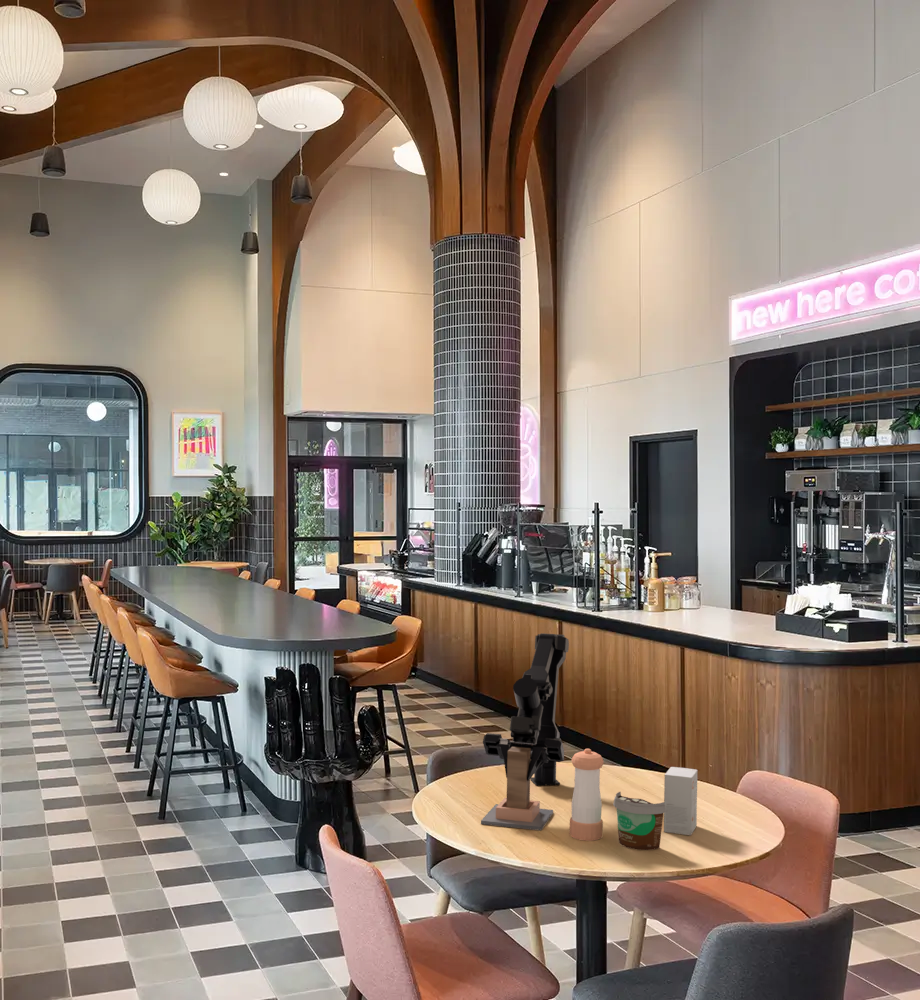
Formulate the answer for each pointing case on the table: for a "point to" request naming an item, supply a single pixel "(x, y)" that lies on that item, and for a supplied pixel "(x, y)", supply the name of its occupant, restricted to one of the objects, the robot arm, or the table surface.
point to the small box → (680, 800)
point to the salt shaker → (586, 797)
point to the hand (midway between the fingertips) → (517, 778)
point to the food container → (639, 822)
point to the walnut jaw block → (518, 777)
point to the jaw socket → (518, 816)
